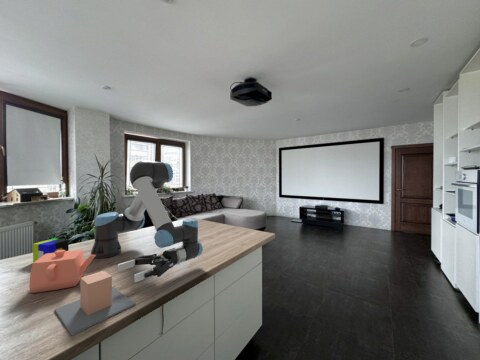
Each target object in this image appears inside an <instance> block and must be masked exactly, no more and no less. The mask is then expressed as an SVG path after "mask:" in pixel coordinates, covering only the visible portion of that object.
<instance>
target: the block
mask: <svg viewBox="0 0 480 360" xmlns="http://www.w3.org/2000/svg"><path fill="white" fill-rule="evenodd" d="M112 287H113V276H112V275H111V274H109V273H108V272H107V271H105V270H101V271H98V272H95V273H93V274H89V275H85V276H82V277H81V280H80V291H79V292H80V293H79V295H80V299H79V300H80V307H81V308H82V309H83V311H84V312H85V313H86V314H87V315H90V314H92V313H95V312H97V311H99V310H101V309H104V308H106V307H108V306H111V305H112Z"/></svg>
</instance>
